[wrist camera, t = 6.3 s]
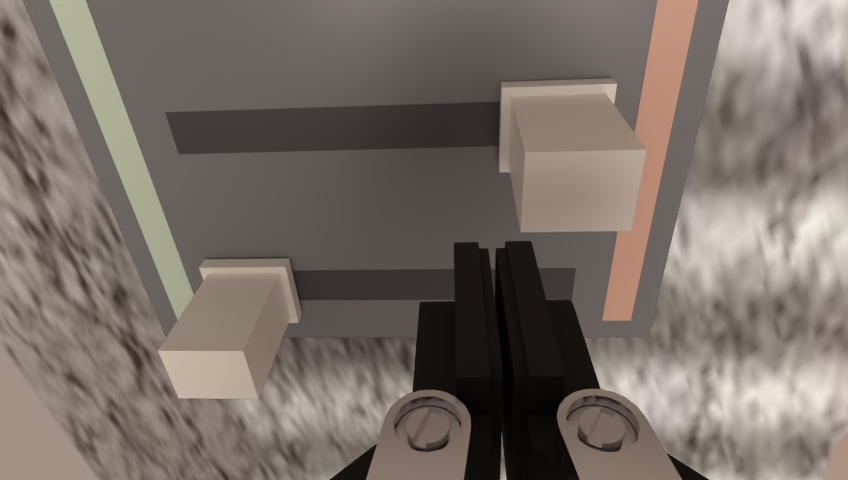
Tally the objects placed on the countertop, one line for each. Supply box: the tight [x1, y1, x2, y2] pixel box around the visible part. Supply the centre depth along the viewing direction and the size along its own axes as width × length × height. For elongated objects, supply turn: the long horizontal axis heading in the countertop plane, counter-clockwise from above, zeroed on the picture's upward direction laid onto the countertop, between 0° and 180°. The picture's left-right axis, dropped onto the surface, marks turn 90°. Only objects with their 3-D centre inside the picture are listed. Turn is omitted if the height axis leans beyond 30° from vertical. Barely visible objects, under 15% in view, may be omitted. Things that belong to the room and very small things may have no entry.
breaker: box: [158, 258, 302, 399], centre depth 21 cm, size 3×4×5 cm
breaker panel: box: [23, 0, 729, 337], centre depth 20 cm, size 20×22×2 cm
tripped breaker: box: [499, 78, 646, 232], centre depth 16 cm, size 3×4×5 cm
